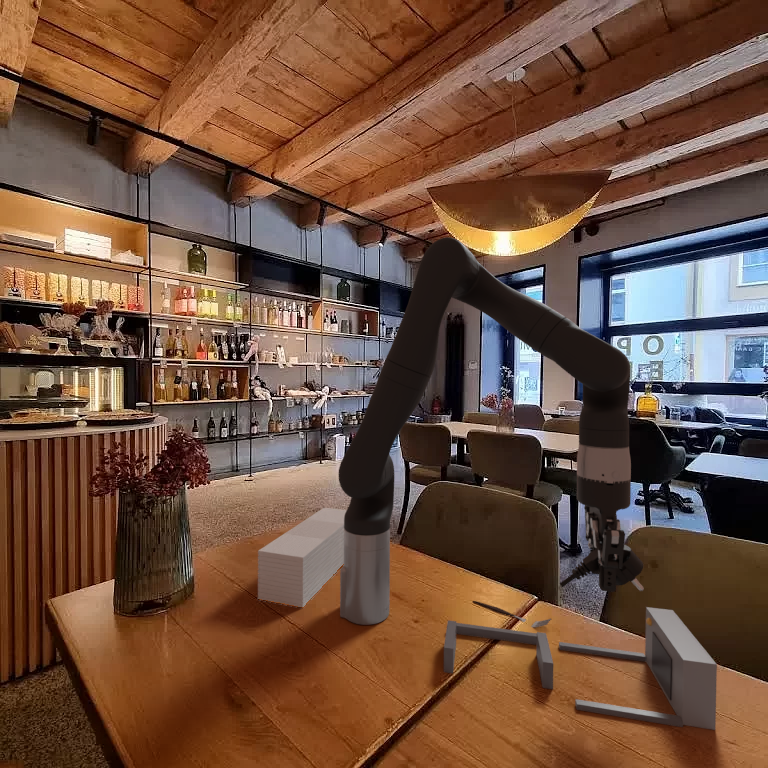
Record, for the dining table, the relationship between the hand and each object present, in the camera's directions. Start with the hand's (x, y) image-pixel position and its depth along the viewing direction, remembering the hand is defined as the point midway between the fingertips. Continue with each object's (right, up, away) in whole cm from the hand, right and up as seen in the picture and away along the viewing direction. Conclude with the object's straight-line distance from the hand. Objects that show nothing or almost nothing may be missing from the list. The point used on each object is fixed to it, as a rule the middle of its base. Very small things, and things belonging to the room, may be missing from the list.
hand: (602, 581), depth 68 cm
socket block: (+4, -16, -1) cm, 16 cm away
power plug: (0, -1, 0) cm, 1 cm away
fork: (-9, -16, +19) cm, 26 cm away
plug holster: (-15, -15, +6) cm, 23 cm away
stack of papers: (-51, -15, +37) cm, 65 cm away
